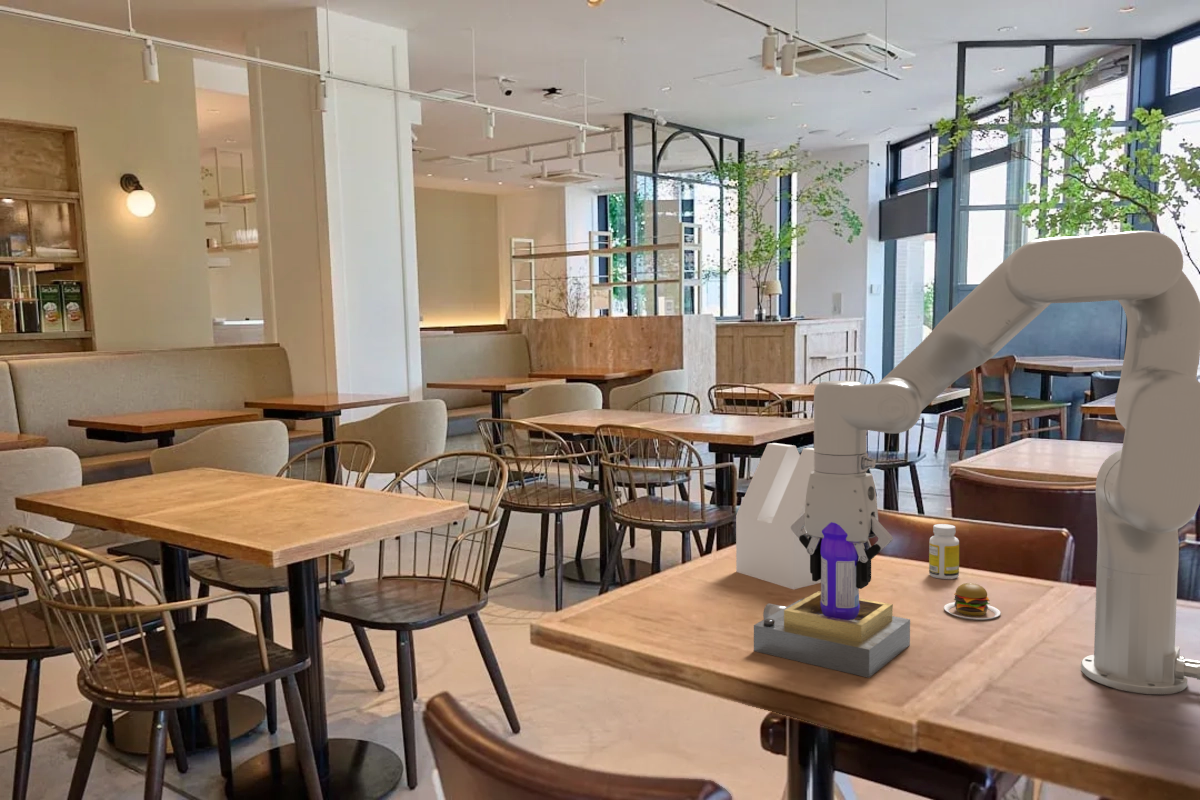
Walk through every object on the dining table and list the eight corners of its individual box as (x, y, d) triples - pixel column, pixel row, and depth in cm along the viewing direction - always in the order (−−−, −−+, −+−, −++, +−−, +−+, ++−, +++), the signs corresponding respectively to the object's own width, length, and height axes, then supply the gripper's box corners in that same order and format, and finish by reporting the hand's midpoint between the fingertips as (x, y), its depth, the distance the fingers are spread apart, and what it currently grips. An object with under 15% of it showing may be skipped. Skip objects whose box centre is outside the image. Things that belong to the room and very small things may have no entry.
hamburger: (991, 633, 146) (991, 599, 146) (920, 616, 155) (921, 584, 155) (1022, 616, 155) (1023, 584, 154) (954, 600, 163) (955, 570, 163)
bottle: (861, 623, 134) (861, 506, 132) (821, 622, 135) (821, 505, 134) (857, 608, 141) (858, 496, 140) (819, 606, 142) (819, 495, 141)
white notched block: (803, 557, 193) (804, 439, 191) (862, 572, 181) (863, 446, 179) (736, 572, 182) (735, 447, 180) (793, 590, 170) (793, 456, 168)
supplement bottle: (961, 574, 178) (962, 524, 177) (955, 581, 173) (956, 530, 172) (932, 570, 181) (933, 521, 180) (925, 577, 176) (926, 527, 175)
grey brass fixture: (909, 644, 140) (910, 603, 139) (869, 677, 127) (869, 632, 127) (779, 618, 153) (779, 580, 153) (730, 645, 141) (730, 604, 140)
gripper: (906, 465, 134) (906, 586, 135) (797, 456, 144) (798, 568, 146) (887, 472, 128) (887, 598, 129) (775, 463, 139) (776, 579, 140)
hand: (840, 581), depth 138 cm, fingers closed on bottle, 6 cm apart
